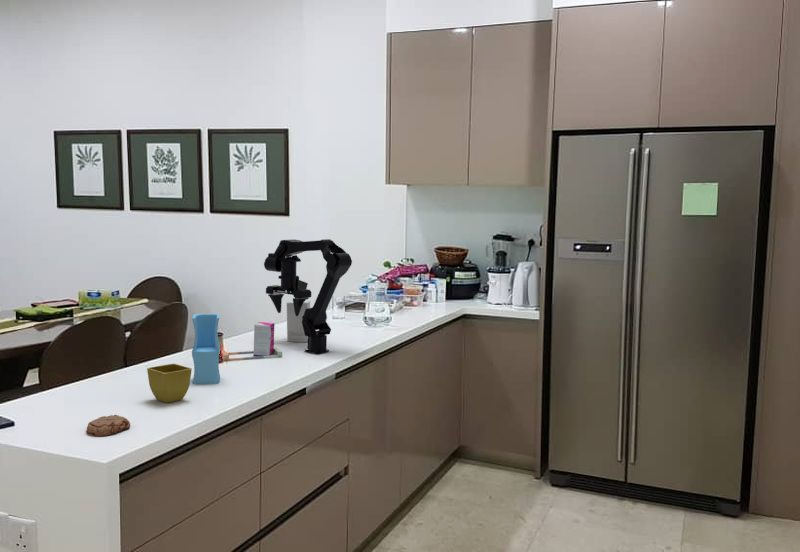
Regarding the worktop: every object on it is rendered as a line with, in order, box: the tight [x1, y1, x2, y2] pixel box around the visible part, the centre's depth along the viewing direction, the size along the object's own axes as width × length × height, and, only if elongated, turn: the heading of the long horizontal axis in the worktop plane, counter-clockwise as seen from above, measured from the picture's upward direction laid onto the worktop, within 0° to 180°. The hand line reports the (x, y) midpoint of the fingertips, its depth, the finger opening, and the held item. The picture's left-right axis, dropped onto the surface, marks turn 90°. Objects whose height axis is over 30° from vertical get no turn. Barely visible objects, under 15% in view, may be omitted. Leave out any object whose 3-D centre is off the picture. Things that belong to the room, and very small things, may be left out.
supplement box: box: [252, 321, 276, 357], centre depth 259 cm, size 6×6×12 cm
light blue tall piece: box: [191, 313, 221, 385], centre depth 223 cm, size 8×8×20 cm
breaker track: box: [221, 345, 283, 362], centre depth 258 cm, size 20×10×2 cm, turn 114°
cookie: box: [86, 414, 131, 437], centre depth 176 cm, size 10×11×3 cm
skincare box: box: [286, 299, 311, 343], centre depth 286 cm, size 8×7×16 cm
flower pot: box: [146, 363, 192, 404], centre depth 202 cm, size 9×9×9 cm
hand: (288, 314), depth 276 cm, fingers open, 9 cm apart
